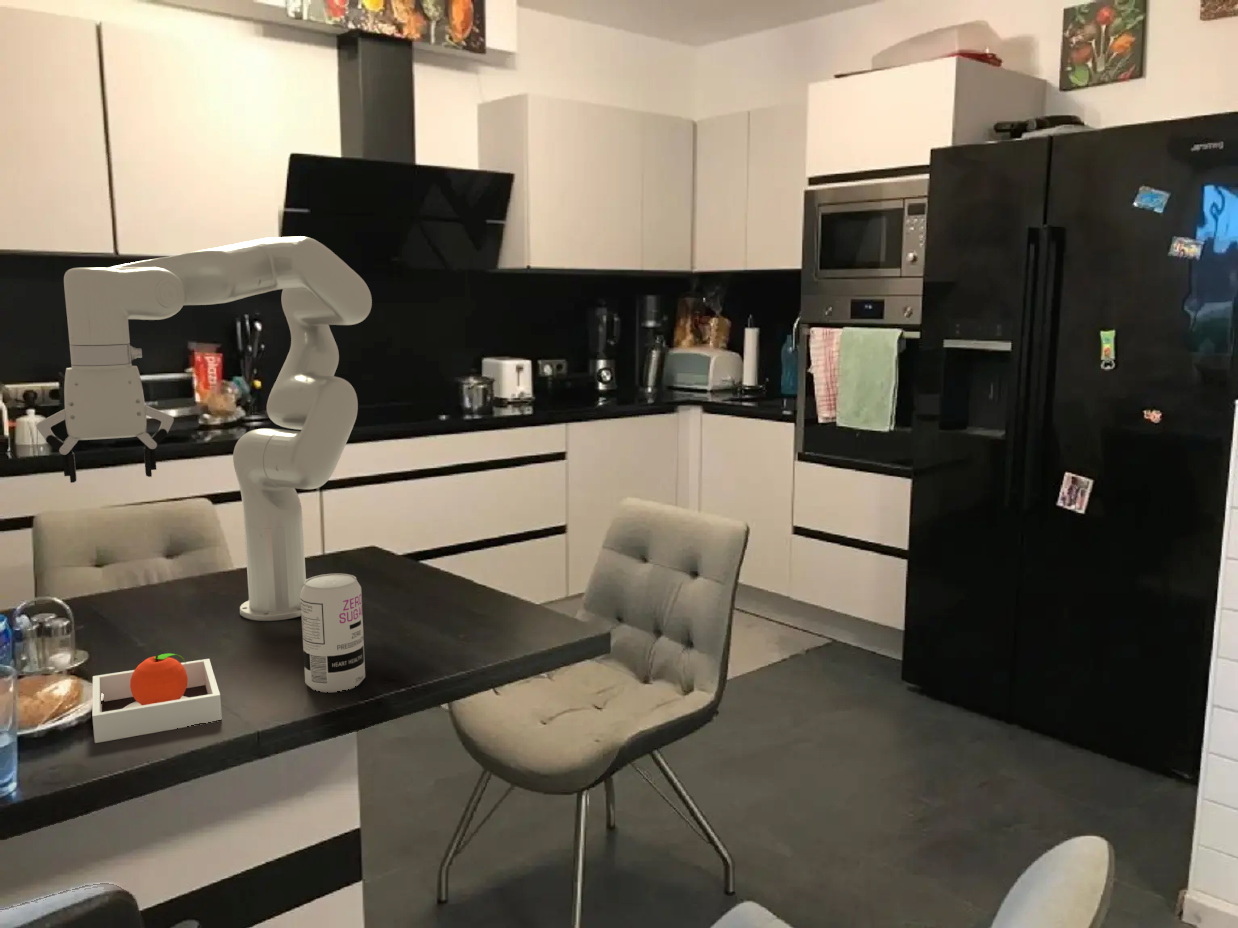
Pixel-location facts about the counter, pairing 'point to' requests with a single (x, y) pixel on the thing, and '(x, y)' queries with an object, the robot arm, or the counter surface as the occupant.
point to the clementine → (158, 680)
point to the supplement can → (332, 632)
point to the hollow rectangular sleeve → (153, 705)
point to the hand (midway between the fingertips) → (111, 478)
